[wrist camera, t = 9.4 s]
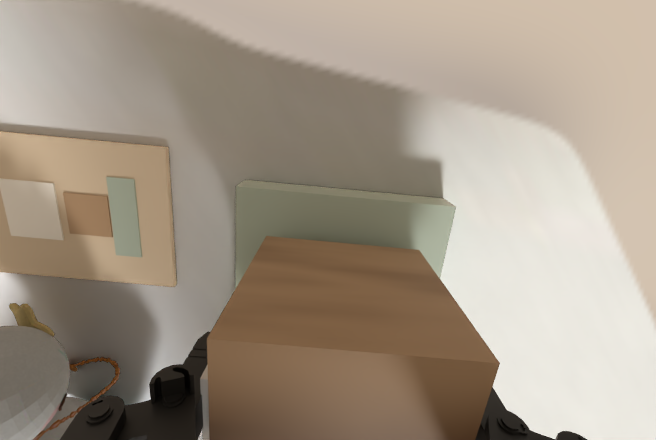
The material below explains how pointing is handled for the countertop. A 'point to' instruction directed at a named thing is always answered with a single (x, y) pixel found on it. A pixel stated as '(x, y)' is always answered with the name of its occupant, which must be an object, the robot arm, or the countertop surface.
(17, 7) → the countertop surface
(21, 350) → the decorative toy
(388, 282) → the walnut cube
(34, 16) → the countertop surface
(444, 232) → the base plate
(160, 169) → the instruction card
